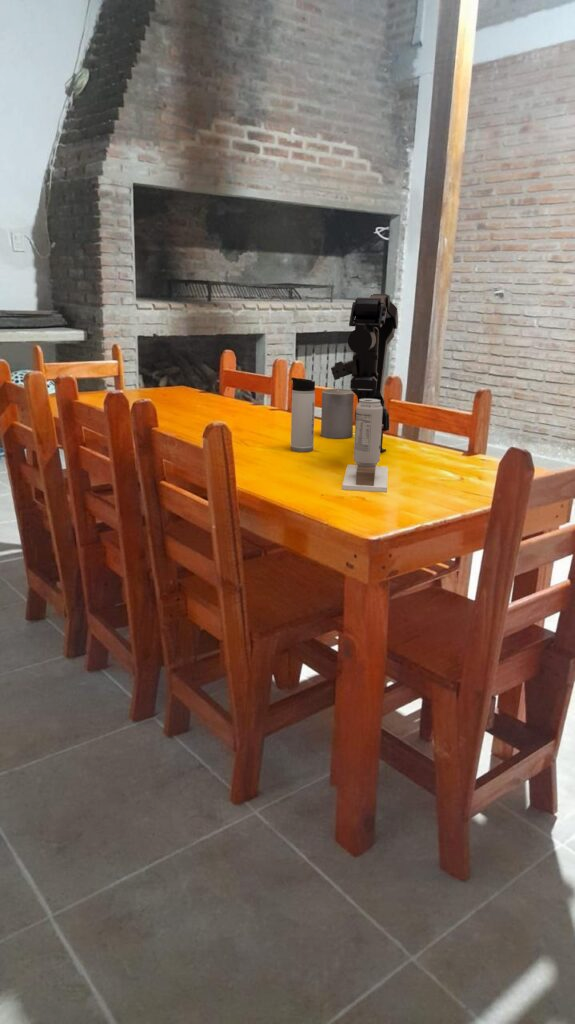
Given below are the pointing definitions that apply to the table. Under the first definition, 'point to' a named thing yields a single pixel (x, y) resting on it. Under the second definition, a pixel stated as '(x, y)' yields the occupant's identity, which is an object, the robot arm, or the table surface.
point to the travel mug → (302, 415)
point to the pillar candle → (337, 413)
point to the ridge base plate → (379, 485)
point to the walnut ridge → (365, 475)
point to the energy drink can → (368, 432)
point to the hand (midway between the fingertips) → (363, 413)
